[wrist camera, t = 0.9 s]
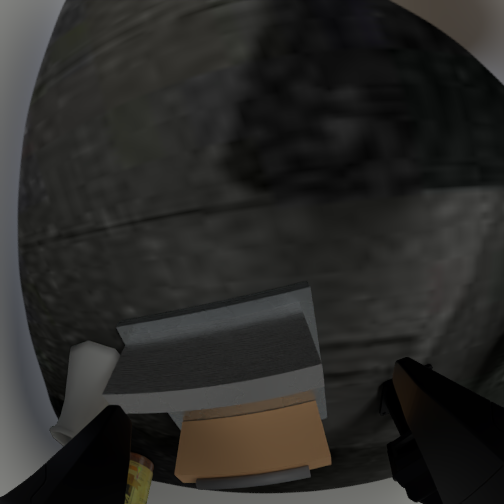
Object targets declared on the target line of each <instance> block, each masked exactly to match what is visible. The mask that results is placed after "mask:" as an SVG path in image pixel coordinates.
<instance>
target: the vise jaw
mask: <svg viewBox="0 0 504 504" xmlns="http://www.w3.org/2000/svg"><path fill="white" fill-rule="evenodd" d="M327 465H331V455H330V451H329V447H328V444H327V440H326V436H325V433H324V429H323V425H322V422H321V418H320V414H319V411H318V407H317V404H316V400H315V401H311V402H307V403H303V404H299V405H294V406H290V407H285V408H280V409H275V410H270V411H265V412H259V413H253V414H247V415H241V416H234V417H226V418H218V419H209V420H198V421H186V422H182V428H181V434H180V441H179V447H178V454H177V461H176V468H175V476H176V477H177V478H179V479H180V480H181V481H182V482H183V483H196V487H197V489H199V490H205V489H230V488H243V487H253V486H261V485H269V484H276V483H282V482H288V481H293V480H299V479H303V478H308V477H311V475H310V469H315V468H319V467H323V466H327Z"/></svg>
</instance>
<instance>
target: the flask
mask: <svg viewBox="0 0 504 504" xmlns="http://www.w3.org/2000/svg"><path fill="white" fill-rule="evenodd" d="M119 357H120V354H119V353H118V352H117V350H116V349H114V348H110V347H107V346H104V345H101V344H98V343H95V342H92V341H86V342H83V343H80V344H77V345H74V346H71V350H70V357H69V367H68V376H67V385H66V394H65V401H64V405H63V408H62V412H61V416H60V418H59V420H58V422H57V424H56V425H55V426H52V427H51V428H50V432H51V434H52V436H53V438H54V439H55V440H56V441H58V442H59V443H60V444H61V445H62V446H63V447H64V446H65V445H66V444H67V443H68V442H69V441H70V440H71V439H72V438H73V437H74V436H76V435H77V434H78V433H79V432H80V431H81V430H82V429H83V428H84V427H85V426H86V425H87V424H88V423H89V422H91V421H92V420H93V419H94V418H95V417H96V416H97V415H98V414H99V413H100V412H101V411H102V410H103V409H104V408H105V407H106V406H108V405H110V404H109V403H108V402H107V401H106V399H105V398H104V397H103V395H102V394H103V391H104V389H105V387H106V385H107V383H108V380H109V378H110V376H111V374H112V372H113V370H114V368H115V366H116V364H117V362H118V359H119Z"/></svg>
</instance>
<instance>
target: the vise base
mask: <svg viewBox="0 0 504 504" xmlns="http://www.w3.org/2000/svg"><path fill="white" fill-rule="evenodd" d="M116 328H117V330H118V332H119V334H120V336H121V338H122V340H123V341H124V343H125V347H124V349H123V351H122V353H121V355H120V357H119V359H118V362H117V364H116V366H115V368H114V370H113V372H112V374H111V376H110V378H109V380H108V383H107V385H106V387H105V389H104V391H103V394H102V395H103V397H104V398H105V399H106V401H107V402H108V403H109V404H110V405H119V406H121V407H122V409H123V410H124V412H125V413H126V414H128V413H164V412H168V414H169V415H170V416H171V418H172V419H173V421H174V422H175V423H176V425H177V426H178V427H179V429H180V430H181V428H182V422H186V421H198V420H209V419H218V418H226V417H234V416H241V415H247V414H253V413H259V412H265V411H270V410H275V409H280V408H285V407H290V406H294V405H299V404H303V403H307V402H311V401H315V400H316V404H317V407H318V411H319V414H320V418H321V419H325V418H327V411H326V401H325V392H324V378H323V369H322V363H321V358H320V350H319V343H318V336H317V329H316V322H315V315H314V308H313V302H312V296H311V289H310V286H309V284H308V282H307V281H305V282H301V283H297V284H293V285H289V286H285V287H281V288H276V289H272V290H268V291H264V292H259V293H255V294H251V295H246V296H242V297H237V298H233V299H228V300H224V301H219V302H214V303H210V304H205V305H200V306H195V307H190V308H186V309H181V310H175V311H170V312H165V313H160V314H155V315H149V316H144V317H139V318H133V319H127V320H122V321H119V323H118V325H117V326H116Z"/></svg>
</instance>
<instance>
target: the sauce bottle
mask: <svg viewBox="0 0 504 504" xmlns="http://www.w3.org/2000/svg"><path fill="white" fill-rule="evenodd" d="M153 468H154V465H153V463H152V462H151V461H150V460H149V459H148V458H146V457H145V456H142V455H140V454H137V453H134V452H131V451H130V464H129V471H128V479H127V487H126V495H125V504H146V503H147V498H148V494H149V489H150V485H151V480H152V476H153V473H152V471H153Z"/></svg>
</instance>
